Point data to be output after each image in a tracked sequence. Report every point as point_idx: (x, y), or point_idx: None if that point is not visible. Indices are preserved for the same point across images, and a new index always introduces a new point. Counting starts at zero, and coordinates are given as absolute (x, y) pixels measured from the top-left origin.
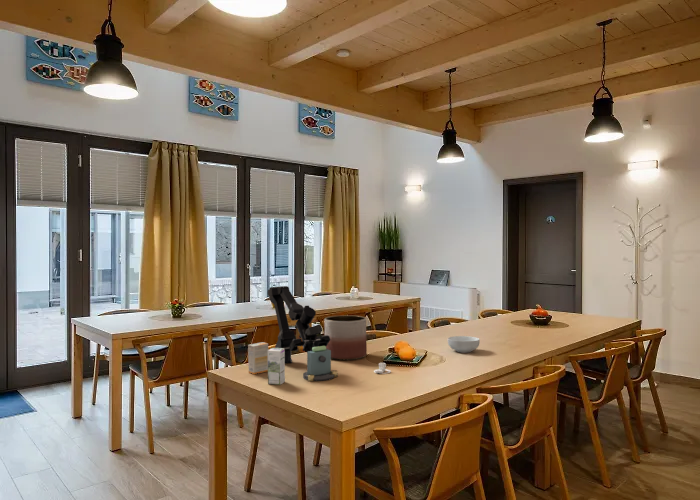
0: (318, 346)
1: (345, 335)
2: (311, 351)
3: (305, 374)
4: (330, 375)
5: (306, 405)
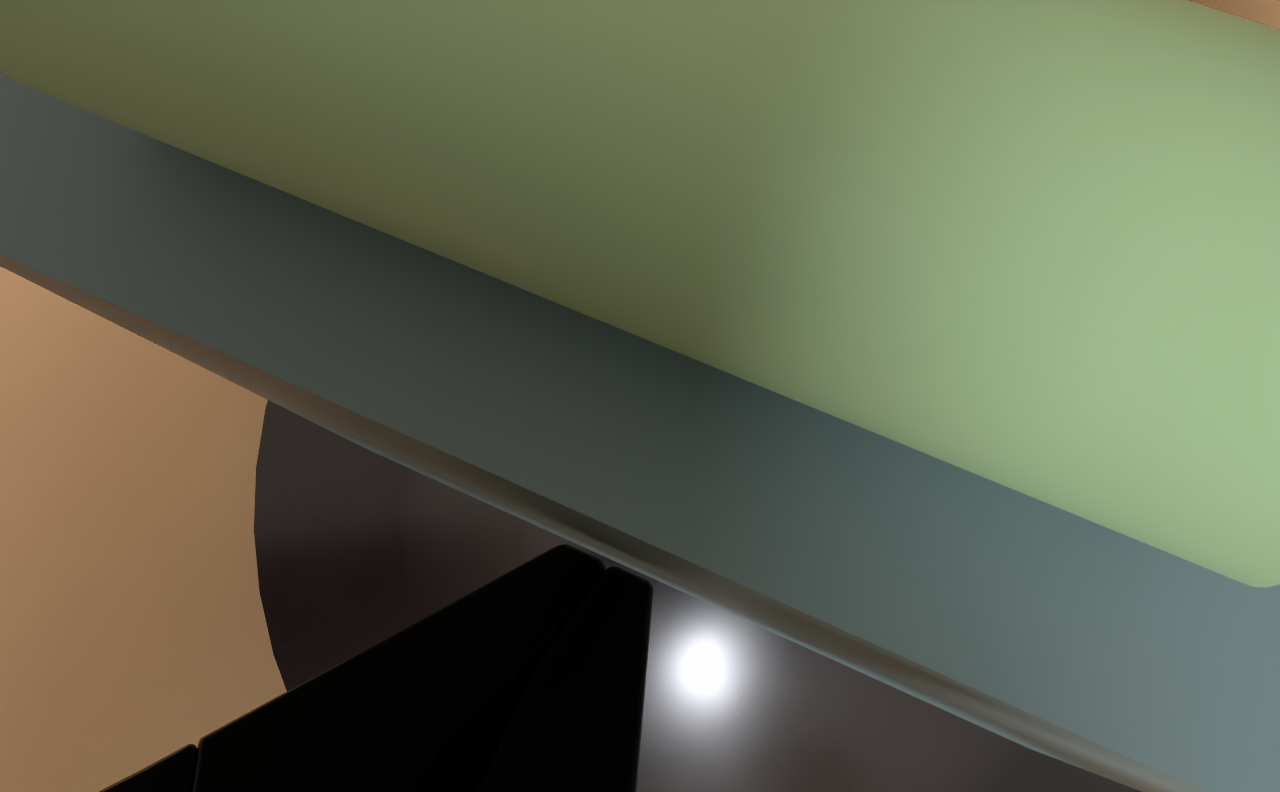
0: (652, 42)
1: None
2: (1256, 612)
3: (1076, 785)
4: None
5: None
